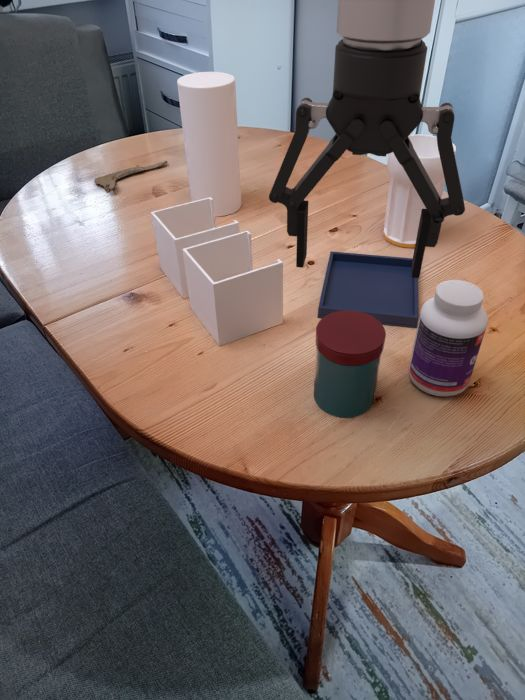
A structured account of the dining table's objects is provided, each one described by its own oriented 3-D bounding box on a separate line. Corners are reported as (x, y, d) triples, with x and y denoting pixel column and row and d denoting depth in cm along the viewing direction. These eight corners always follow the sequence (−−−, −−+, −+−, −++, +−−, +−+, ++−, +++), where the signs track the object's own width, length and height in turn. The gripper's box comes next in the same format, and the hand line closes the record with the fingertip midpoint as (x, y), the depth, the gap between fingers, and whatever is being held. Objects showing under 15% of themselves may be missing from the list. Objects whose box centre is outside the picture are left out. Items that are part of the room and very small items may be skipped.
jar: (372, 422, 68) (382, 360, 61) (309, 413, 69) (312, 351, 62) (375, 379, 74) (385, 317, 67) (317, 371, 75) (321, 311, 68)
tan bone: (84, 190, 124) (81, 182, 122) (142, 161, 137) (140, 153, 136) (113, 195, 120) (110, 186, 118) (170, 164, 133) (168, 156, 132)
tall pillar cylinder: (242, 194, 119) (236, 70, 103) (239, 216, 111) (232, 86, 95) (195, 194, 120) (181, 71, 103) (188, 217, 112) (172, 87, 95)
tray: (416, 328, 82) (418, 317, 81) (317, 317, 85) (318, 307, 83) (415, 268, 95) (417, 258, 93) (329, 260, 97) (330, 251, 96)
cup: (400, 216, 110) (414, 129, 98) (449, 236, 103) (469, 145, 92) (365, 236, 104) (375, 145, 92) (413, 257, 97) (431, 163, 86)
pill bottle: (471, 403, 70) (501, 315, 61) (408, 397, 71) (428, 309, 62) (464, 362, 76) (490, 276, 67) (406, 357, 77) (423, 271, 68)
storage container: (160, 268, 97) (150, 212, 90) (215, 252, 101) (210, 197, 93) (219, 346, 80) (213, 284, 73) (282, 323, 84) (283, 262, 77)
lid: (382, 370, 62) (384, 358, 61) (311, 361, 63) (311, 349, 62) (385, 326, 68) (386, 314, 67) (319, 319, 69) (320, 307, 68)
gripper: (528, 31, 45) (469, 257, 59) (250, 27, 49) (257, 239, 63) (545, 53, 39) (475, 296, 54) (229, 46, 43) (242, 274, 58)
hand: (357, 266), depth 58 cm, fingers open, 12 cm apart
